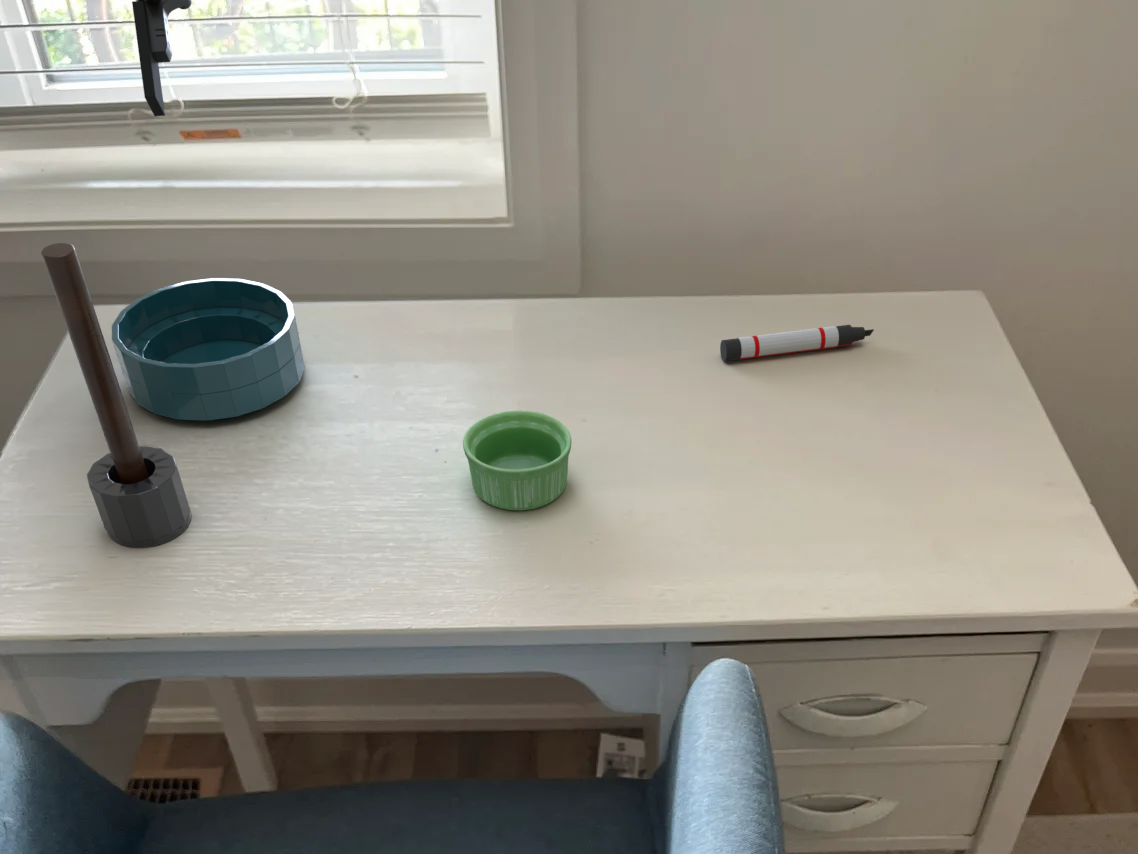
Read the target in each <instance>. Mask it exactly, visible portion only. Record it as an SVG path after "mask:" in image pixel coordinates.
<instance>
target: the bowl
mask: <svg viewBox="0 0 1138 854" xmlns="http://www.w3.org/2000/svg"><path fill="white" fill-rule="evenodd" d="M296 319H297V318H296V314H295V308H294V304H293V302H292V301H291V300H290V299H289V298H288V297H287V296H286V295H285V294H284V293H283V292H282V291H281V290H279V289H276V288H274V287H273V286H270V285H268V284H265V283H263V282H260V281H259V282H258V281H253V280H249V279H243V278H229V277H227V278H226V277H211V278H202V279H195V280H186V281H182V282H178V283H174V284H171V285H167V286H163V287H160V288H158V289H155V290H153V291H150V292H148V293H146V294H144V295H142V296H140V297H138V298H135V300H134V301H132V302H131V303H129V304H128V305H126V306H125V307H124V308H123V309H122V310H121V311H120V312H119V313H118V314H117V317H116V318H115V320H114V321H113V323H112V324H111V341H112V344H113V348H114V350H115V354H116V357H117V360H118V363H119V366H120V369H121V372H122V376H123V378H124V381H125V385H126V388H127V391H128V393H129V394H130V395H131V397H132V398H133V400H134V401H135V402H136V404H137V405H138V406H140V407H142V408H143V409H145V410H147V411H149V412H151V413H152V414H154V415H158V416H162V417H166V418H167V417H168V418H169V419H174V420H179V421H180V420H181V421H182V420H183V421H214V420H221V419H222V420H223V419H229V418H235V417H241V416H243V415H246V414H251V413H252V412H256V411H258V410H262V409H264V408H266V407H267V406H270V405H272V404H274V403H275V402H277V401H279V400H281V399H283V398H285V397H286V396H287V395H288V394H289V393H290V392H291V391H292V390H293V389H294V388H295V387H297V385H298V384H300V381H301V379H302V377H303V374H304V372H305V368H306V365H305V361H304V355H303V350H302V345H301V339H300V335H299V330H298V325H297V324H298V323H297V320H296Z"/></svg>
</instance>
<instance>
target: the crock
mask: <svg viewBox="0 0 1138 854" xmlns="http://www.w3.org/2000/svg"><path fill="white" fill-rule="evenodd" d="M139 448H140V451H141V454H142V457H143V460H144V463H145V466H146V469H147V472H148V475H149V478H147V479H146V480H143V481H141V482H138V483H135V484H121V482H120V479H119V476H118V473H117V470H116V467H115V465H114V462H113V459H112V456H111V453H110V452H108V453H106V454H105V455H103V456H102V457H100V458H99V459H98V460H96V461H94V462H93V463H92V465H91V466H90V468H89V470H88V471H87V473H86V478H87V482H88V487H89V489H90V492H91V494H92V498H93V500H94V502H95V506H96V508H97V510H98V513H99V517H100V519H101V522H102V524H103V527H104V529H105V531H106V534H107V535H108V537H109V538H110V539H111V540H112V541H113V542H115V543H117V544H118V545H121V546H125V547H128V548H149V547H155V546H160V545H163V544H165V543H168V542H171V541H172V540H174V539H175V538H177V537H179V536H180V535H182V534H183V533H184V532H185V531H186V530H187V528H188V527H189V526H190V523H191V520H192V513H191V509H190V504H189V501H188V498H187V495H186V492H185V488H184V485H183V482H182V479H181V476H180V472H179V469H178V465H177V462H176V459H175V457H174V455H173V454H171V453H169V452H168V451H166V450H165V449H163V448H160V447H155V446H151V445H150V446H149V445H139Z"/></svg>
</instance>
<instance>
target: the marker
mask: <svg viewBox="0 0 1138 854" xmlns="http://www.w3.org/2000/svg"><path fill="white" fill-rule="evenodd" d="M874 331H875V329H874V328H873V329H866V328H865V327H863V326H852V325H851V324H843V325H831V326H824V327H823V326H822V327H815V328H805V329H799V330H789V331H782V332H773V333H766V334H758V335H748V336H740V337H736V338H729V339H721V341H720V346H719V349H720V350H719V352H720V356H721V360H722V361H723V362H726V361H734V360H746V359H754V358H763V357H769V356H779V355H786V354H794V353H802V352H810V351H818V350H819V351H820V350H826V349H835V348H840V347H848V346H851V345H853V343H855V342H859V341H863V340H865V338H866V337H870V336H871V335H872V333H874Z"/></svg>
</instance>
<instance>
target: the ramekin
mask: <svg viewBox="0 0 1138 854" xmlns="http://www.w3.org/2000/svg"><path fill="white" fill-rule="evenodd" d="M462 441H463V442H462V448H463V451H464V455H465V457H466V459H467V463H468V467H469V473H470V479H471V484H472V487H473V490H474V492H475V494H476V496H477V497H479V498H480V499H481V500H482V501H483V502H485V503H486V504H489V505H490V506H493V507H496V508H499V509H502V510H508V511H526V510H527V511H529V510H534V509H538V508H540V507H543V506H546V505H549V504H550V503H552V502H553V501H555V500H557V498H559V497H560V496H561V495H562V493H563V492H564V490H565V488H566V487H567V486H566V485H567V481H568V471H569V470H568V469H569V455H570V452H571V449H572V435H571V433H570V431H569V429H568V427H567V426H566V425H565V424H564V423H563V422H561V421H560V420H559V419H557V418H556V417H553V416H551V415H549V414H547V413H546V414H545V413H543V412H539V411H532V410H522V409H521V410H517V409H516V410H505V411H500V412H497V413H493V414H490V415H487V416H485V417H483V418H481V419H478V421H476V422H475V423H472V425H470V427H469V428H468V429H467V431H466V432H465V433H464V437H463V440H462Z"/></svg>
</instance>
